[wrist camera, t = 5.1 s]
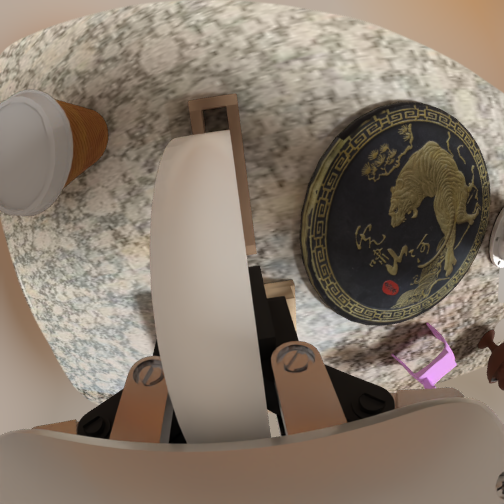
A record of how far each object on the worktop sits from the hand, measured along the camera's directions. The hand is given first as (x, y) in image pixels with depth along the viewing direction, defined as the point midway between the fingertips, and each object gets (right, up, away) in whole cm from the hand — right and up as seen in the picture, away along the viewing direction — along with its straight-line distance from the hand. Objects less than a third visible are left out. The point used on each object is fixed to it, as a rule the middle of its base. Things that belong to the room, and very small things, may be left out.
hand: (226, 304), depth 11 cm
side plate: (0, 0, -1) cm, 1 cm away
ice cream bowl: (+54, -18, +35) cm, 67 cm away
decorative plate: (+21, +6, +21) cm, 30 cm away
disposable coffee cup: (-16, +14, +13) cm, 25 cm away
